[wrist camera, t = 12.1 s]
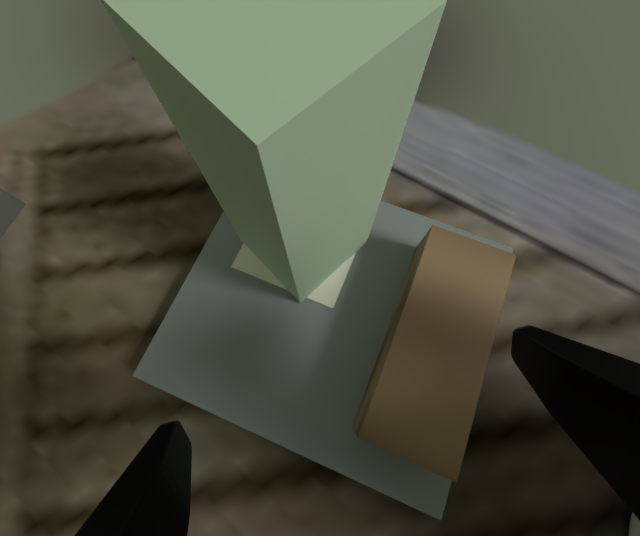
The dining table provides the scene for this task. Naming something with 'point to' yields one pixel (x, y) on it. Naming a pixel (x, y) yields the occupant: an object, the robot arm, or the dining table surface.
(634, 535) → the fruit juice
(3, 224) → the dice cube
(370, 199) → the post
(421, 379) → the beam
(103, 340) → the dining table surface
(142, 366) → the board
